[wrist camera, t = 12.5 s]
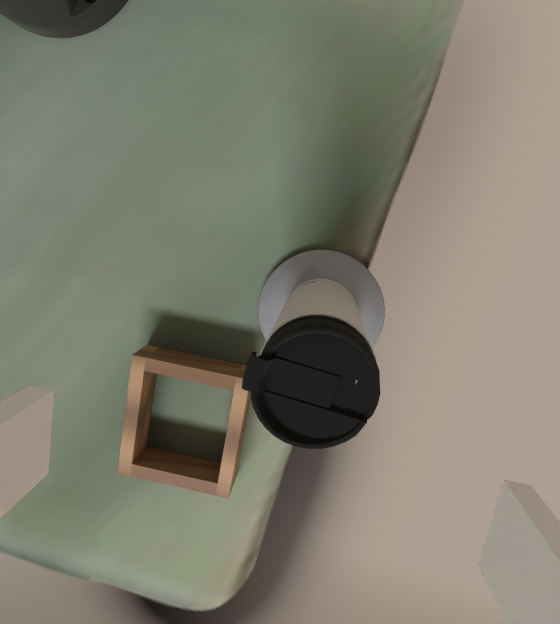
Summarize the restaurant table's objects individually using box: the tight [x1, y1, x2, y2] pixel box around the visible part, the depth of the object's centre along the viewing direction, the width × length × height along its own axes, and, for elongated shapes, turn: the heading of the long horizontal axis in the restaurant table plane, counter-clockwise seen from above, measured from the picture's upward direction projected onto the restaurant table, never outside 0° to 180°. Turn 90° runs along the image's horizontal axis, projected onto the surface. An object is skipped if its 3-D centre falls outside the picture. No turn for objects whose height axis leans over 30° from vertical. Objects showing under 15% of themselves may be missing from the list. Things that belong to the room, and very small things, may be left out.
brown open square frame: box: [118, 345, 251, 498], centre depth 43 cm, size 11×10×4 cm
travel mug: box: [242, 278, 380, 449], centre depth 31 cm, size 6×7×20 cm
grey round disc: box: [259, 250, 385, 348], centre depth 41 cm, size 11×11×1 cm
